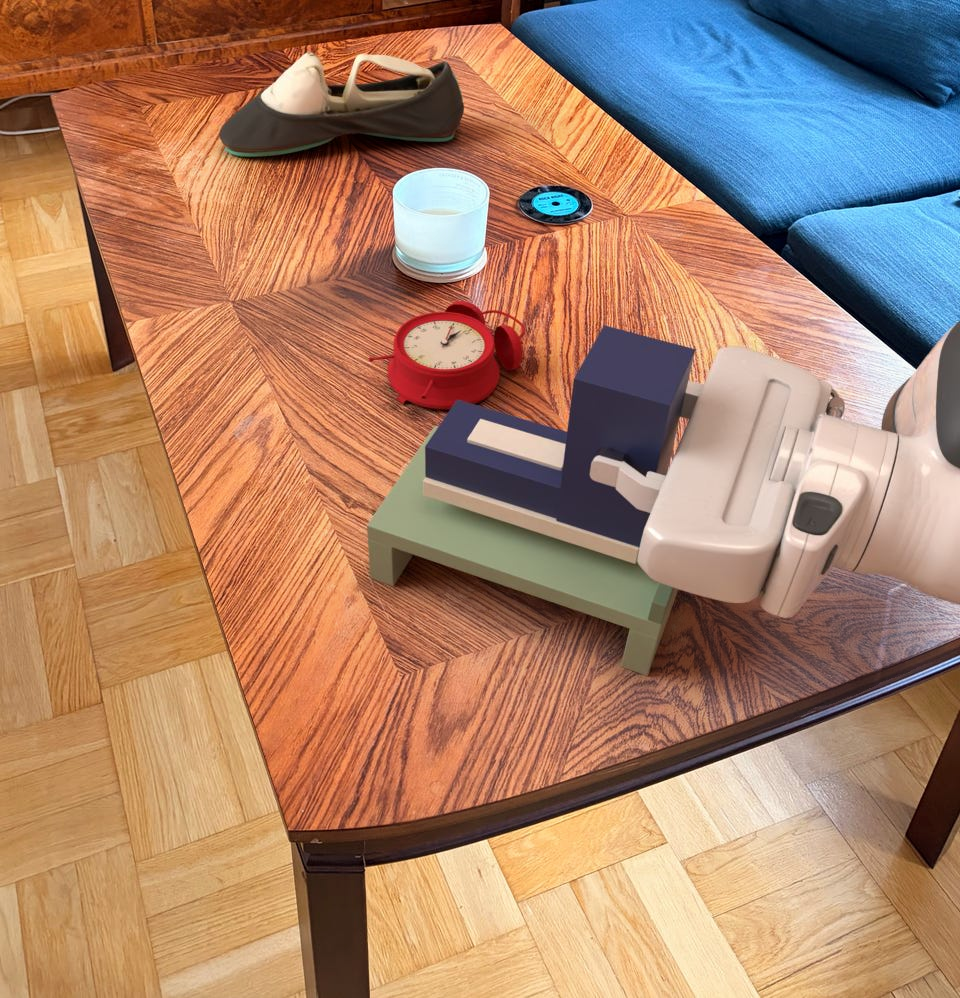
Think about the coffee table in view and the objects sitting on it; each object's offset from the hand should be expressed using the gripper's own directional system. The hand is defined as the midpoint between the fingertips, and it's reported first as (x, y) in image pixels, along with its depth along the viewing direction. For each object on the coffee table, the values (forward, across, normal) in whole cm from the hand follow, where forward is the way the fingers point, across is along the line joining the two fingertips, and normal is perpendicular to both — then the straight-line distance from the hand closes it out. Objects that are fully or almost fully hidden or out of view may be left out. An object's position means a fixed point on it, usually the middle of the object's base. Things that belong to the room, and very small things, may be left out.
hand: (611, 427), depth 65 cm
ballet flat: (+50, -56, +16) cm, 77 cm away
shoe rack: (+4, 0, +16) cm, 17 cm away
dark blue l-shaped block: (+4, 0, +9) cm, 9 cm away
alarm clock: (+20, -20, +16) cm, 32 cm away
